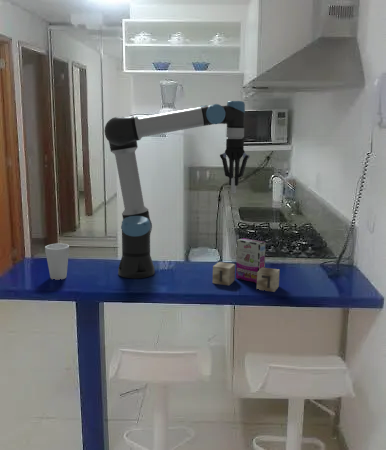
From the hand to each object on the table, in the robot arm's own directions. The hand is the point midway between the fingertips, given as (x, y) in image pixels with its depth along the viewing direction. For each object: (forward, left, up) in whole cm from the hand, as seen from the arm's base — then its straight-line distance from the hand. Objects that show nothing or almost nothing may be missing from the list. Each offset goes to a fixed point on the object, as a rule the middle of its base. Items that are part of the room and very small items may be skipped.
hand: (233, 192), depth 213 cm
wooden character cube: (+5, -25, -33) cm, 41 cm away
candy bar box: (+14, -18, -33) cm, 40 cm away
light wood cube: (+23, -25, -33) cm, 47 cm away
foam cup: (-58, -48, -33) cm, 82 cm away
